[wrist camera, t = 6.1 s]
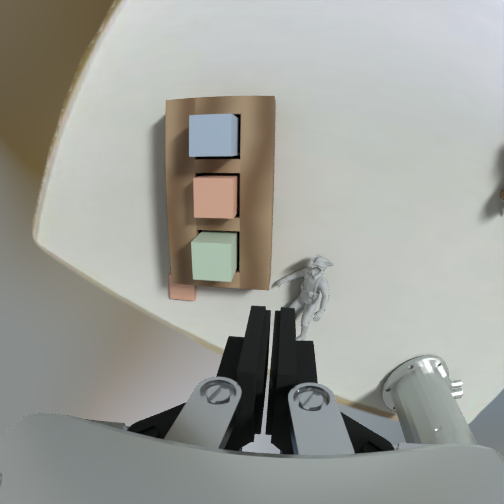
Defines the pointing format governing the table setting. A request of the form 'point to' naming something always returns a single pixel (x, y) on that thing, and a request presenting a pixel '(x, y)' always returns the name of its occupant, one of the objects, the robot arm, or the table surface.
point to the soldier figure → (310, 292)
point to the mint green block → (215, 255)
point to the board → (249, 166)
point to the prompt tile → (181, 291)
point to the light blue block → (214, 135)
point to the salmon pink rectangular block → (216, 195)
